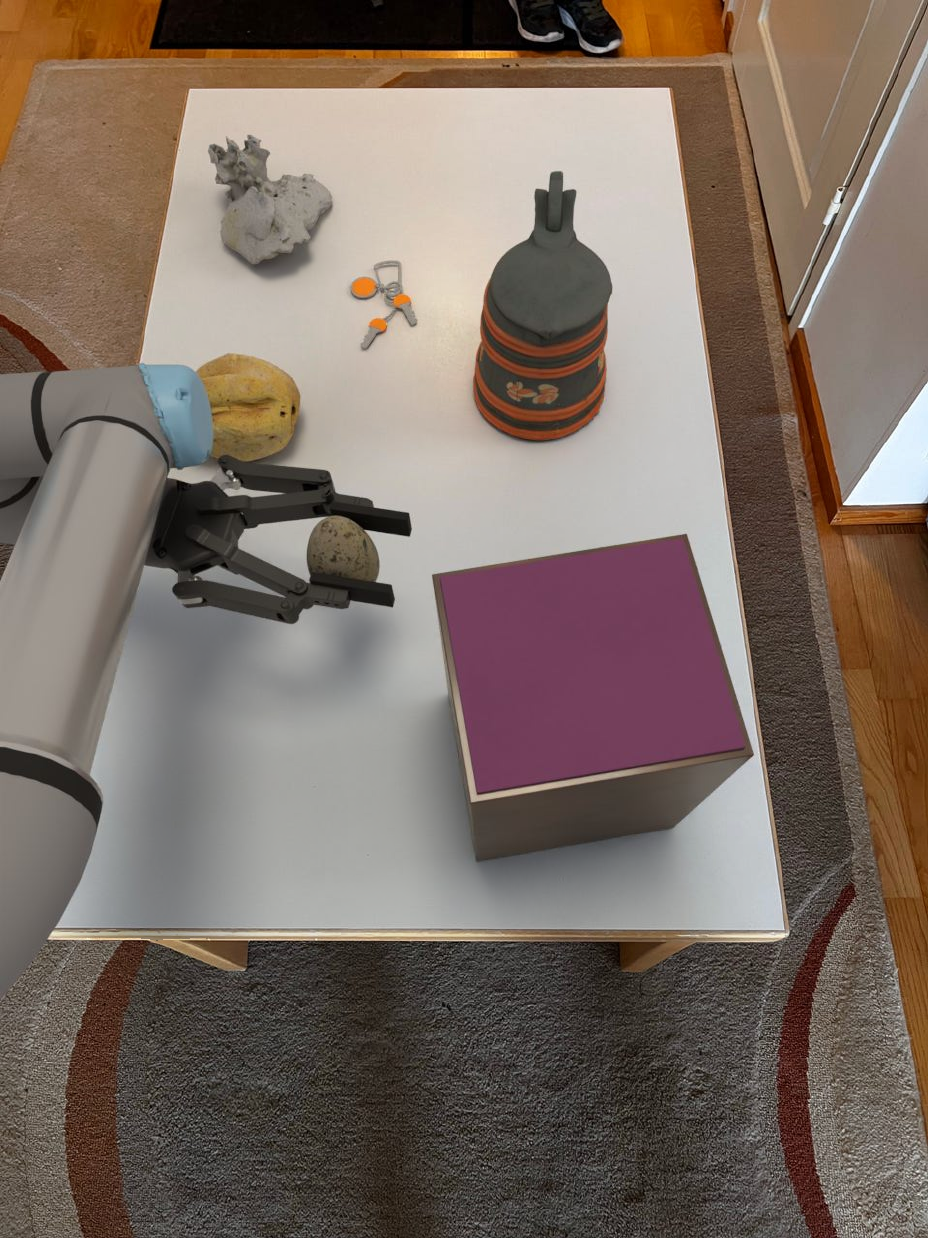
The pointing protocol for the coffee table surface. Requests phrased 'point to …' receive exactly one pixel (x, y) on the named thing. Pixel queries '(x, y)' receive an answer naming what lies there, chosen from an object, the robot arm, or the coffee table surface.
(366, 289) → the key chain
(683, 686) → the cloth
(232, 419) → the tan rounded lump
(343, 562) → the decorative egg
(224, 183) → the coral
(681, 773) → the plinth
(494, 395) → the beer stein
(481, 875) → the coffee table surface
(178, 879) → the coffee table surface
